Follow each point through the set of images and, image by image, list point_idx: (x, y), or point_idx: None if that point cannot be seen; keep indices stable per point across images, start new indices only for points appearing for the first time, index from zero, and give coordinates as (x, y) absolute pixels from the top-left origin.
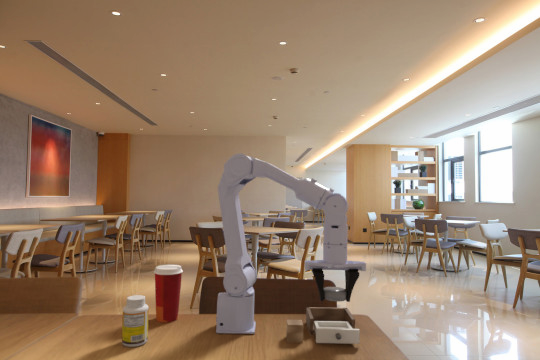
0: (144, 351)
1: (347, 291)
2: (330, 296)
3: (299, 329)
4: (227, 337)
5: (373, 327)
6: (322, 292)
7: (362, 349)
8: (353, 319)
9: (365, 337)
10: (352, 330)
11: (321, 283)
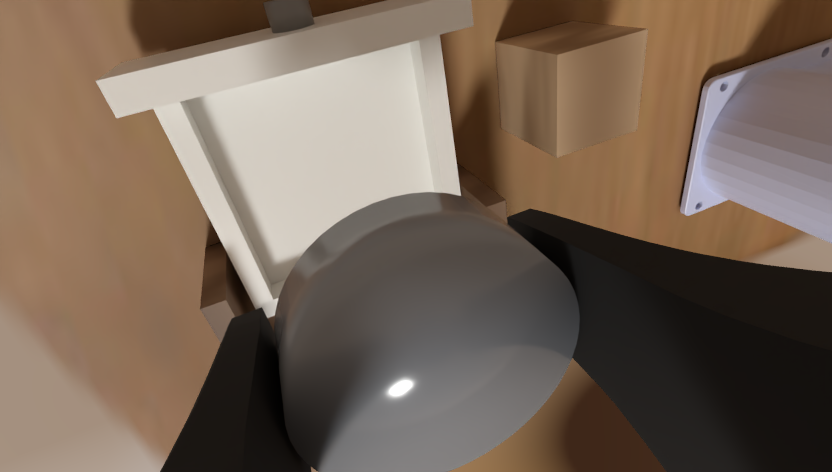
0: None
1: (266, 406)
2: (478, 219)
3: (560, 44)
4: (805, 8)
5: (119, 408)
6: (587, 241)
7: (96, 32)
8: (213, 304)
9: (130, 252)
10: (169, 61)
11: (717, 288)
